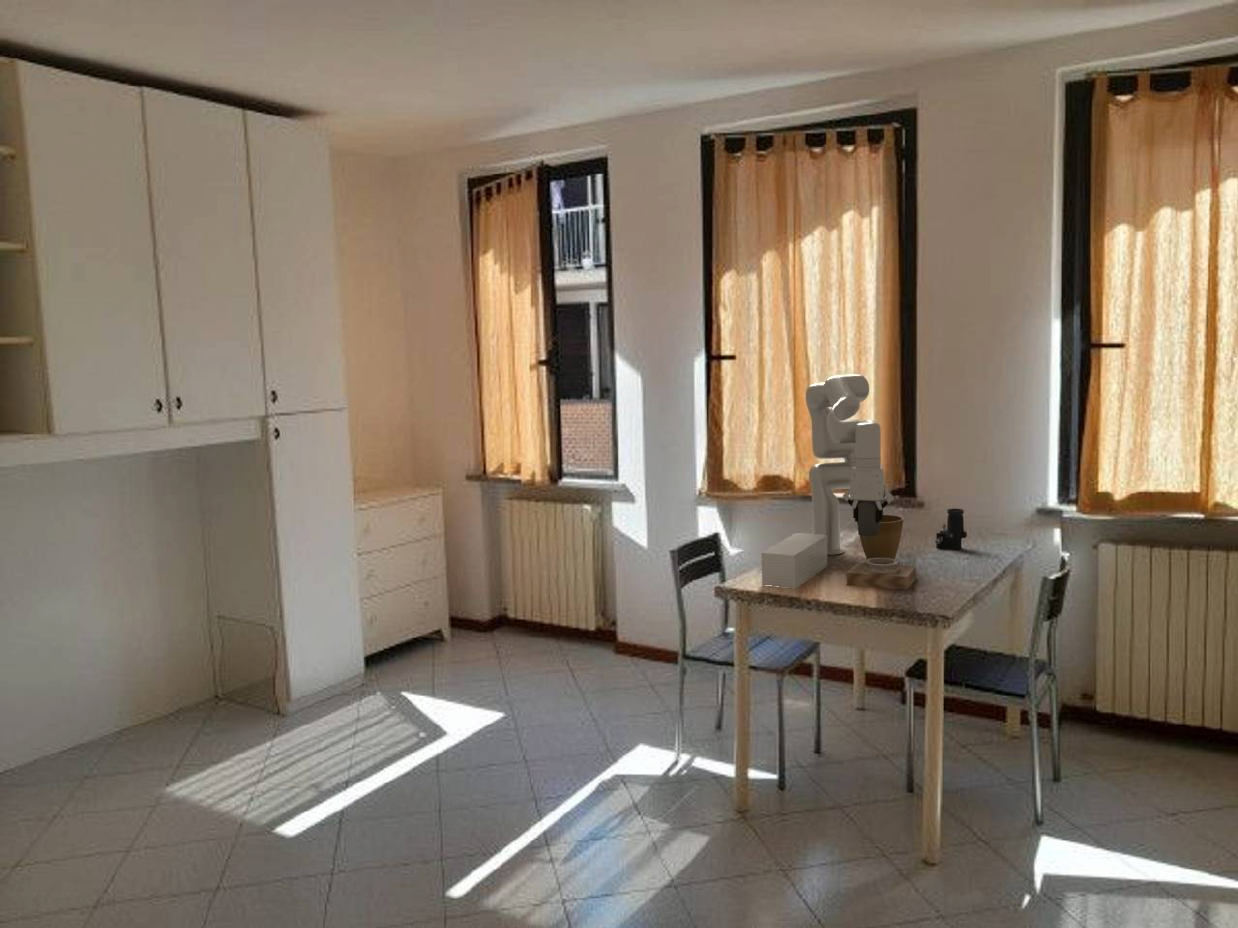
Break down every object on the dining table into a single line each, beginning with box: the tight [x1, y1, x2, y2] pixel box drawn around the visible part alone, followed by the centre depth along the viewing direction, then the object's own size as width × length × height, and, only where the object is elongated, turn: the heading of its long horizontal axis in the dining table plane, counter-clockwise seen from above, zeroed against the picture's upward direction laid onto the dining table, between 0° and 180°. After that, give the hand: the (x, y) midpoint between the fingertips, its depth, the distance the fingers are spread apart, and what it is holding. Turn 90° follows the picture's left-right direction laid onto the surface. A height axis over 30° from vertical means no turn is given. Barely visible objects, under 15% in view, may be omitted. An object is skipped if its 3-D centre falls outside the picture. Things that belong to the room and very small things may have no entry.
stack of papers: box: [760, 532, 828, 589], centre depth 310 cm, size 32×11×11 cm, turn 151°
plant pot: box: [856, 514, 904, 560], centre depth 319 cm, size 15×15×16 cm
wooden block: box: [846, 557, 917, 591], centre depth 298 cm, size 18×14×6 cm
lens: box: [857, 501, 878, 536], centre depth 296 cm, size 6×6×10 cm
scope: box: [934, 508, 968, 551], centre depth 340 cm, size 8×14×10 cm
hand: (868, 520), depth 296 cm, fingers closed on lens, 6 cm apart
